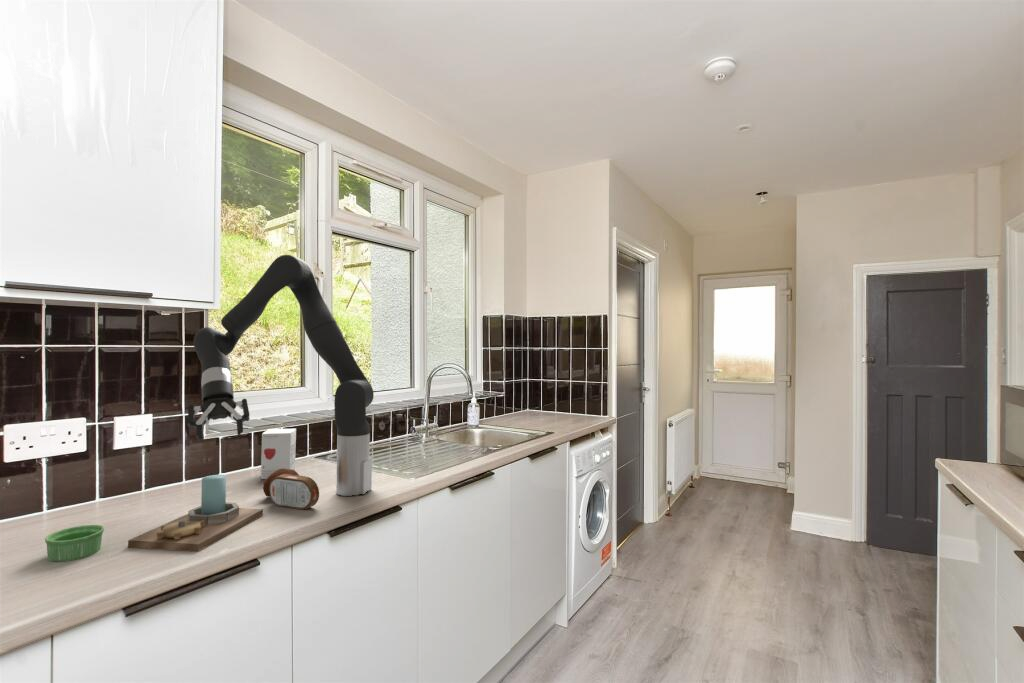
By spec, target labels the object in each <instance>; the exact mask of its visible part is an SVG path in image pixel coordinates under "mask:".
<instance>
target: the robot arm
mask: <svg viewBox="0 0 1024 683" xmlns="http://www.w3.org/2000/svg"><path fill="white" fill-rule="evenodd" d="M285 287H288V288H289V290H290V291H291V292H292V294H293V295H294V298H296V300H297V302H298V304H299V306H300V310H301V317H302V325H303V328H304V331H305V334H306V335H307V338H308V340H309V342H310V344H311V346H312V348H313V349H314V351H315V352H316V353H317V355H318V356H319V357H321V359H323V361H324V362H325V363H326V364H327V365H328V366H329V367H330V369H331V370H332V371H333V372H334V374H335V376H336V377H337V379H338V383H339V385H338V386H337V387H336V390H335V393H334V424H335V427H336V430H337V431H336V434H337V437H336V484H335V486H336V492H335V493H336V494H337V495H339V496H342V497H343V496H344V497H347V496H348V497H351V496H352V495H355V496H360V495H359V494H364V495H365V494H367V493H368V492H370V491H371V490H372V488H373V487H372V481H373V480H372V479H373V478H372V476H373V474H372V473H373V469H372V468H373V458H372V457H370V450H371V449H370V445H371V444H370V442H371V441H370V440H371V436H370V435H371V426H370V423H369V422H368V420H367V412H366V411H367V410H366V409H367V408H368V407H369V406H370V405H371V404H372V402H373V401H374V397H375V396H374V389H373V386H372V385H371V383H370V382H369V379H367V377H366V376H365V374H364V372H363V370H362V369H361V368H360V366H359V364H358V363H357V361H356V360H355V358H354V355H353V353H352V350H351V349H350V347H349V345H348V342H347V341H346V338H345V337H344V335H343V333H342V330H341V328H340V326H339V325H338V323H337V321H336V319H335V317H334V315H333V313H332V312H331V310H330V308H329V306H328V304H327V303H326V301H325V299H324V297H323V295H322V293H321V292H320V289H319V286H318V283H317V281H316V278H315V275H314V272H313V271H312V268H311V267H310V265H309V264H308V262H306V261H305V260H303V259H301V258H300V257H297V256H294V255H292V254H283V255H279V256H278V257H276V259H274V261H272V263H270V265H269V266H268V268H267V269H266V270H265V272H264V273H263V275H261V277H260V278H259V279H258V281H256V283H255V285H253V287H252V288H251V289H250V291H249V292H248V293H247V294H246V295H245V296H244V297H242V299H241V300H240V301H239V302H238V303H236V304H235V305H234V306H233V307H232V308H231V309H230V310H228V312H227V313H226V314H225V315H224V316H223V317H221V319H220V324H221V326H222V327H223V328H224V329H225V330H226V332H225V333H223V332H221V331H219V330H217V329H215V328H213V327H209V326H207V327H203V328H200V329H199V330H197V331H196V333H195V335H194V337H193V348H194V349H195V352H196V355H197V358H198V360H199V362H200V364H201V383H200V384H201V401H202V402H201V405H198V406H197V405H196V406H195V405H194V404H190V405H188V407H187V408H188V409H187V410H188V412H187V425H188V428H189V429H196V439H197V440H200V442H201V441H202V442H203V441H204V429H203V428H204V426H205V425H206V424H208V423H209V422H210V421H211V420H213V421H216V420H219V419H227V418H229V419H230V420H232V421H234V422H236V430H237V431H236V432H237V436H241V434H243V433H244V424H243V423H244V422H248V421H250V411H249V406H248V400H247V398H242V399H241V400H240V401H238V400H237V401H236V400H235V397H234V383H233V377H232V374H231V373H232V372H231V362H230V360H229V358H228V356H229V355H230V354H231V353H232V352H233V351H234V349H235V347H236V346H237V344H238V342H239V341H240V339H241V337H243V335H244V333H245V332H246V330H248V329H249V328H250V327H251V326H252V325H254V324H255V323H256V322H257V320H258V319H259V318H261V316H262V314H263V313H264V311H265V309H266V307H267V305H268V304H269V302H270V301H271V299H272V298H273V297H274V296H276V294H277V293H279V292H280V291H281V290H283V289H285ZM236 407H238V408H239V409H240V410H242V413H243V414H240V413H238V411H237V410H236ZM200 411H201V413H202V414H201V415H200V417H199V418H198V419H197V420H196V421H195V416H197V414H198V413H199V412H200ZM370 489H371V490H370ZM367 491H368V492H367ZM366 492H367V493H366Z"/></svg>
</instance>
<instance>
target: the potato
mask: <svg viewBox="0 0 1024 683" xmlns="http://www.w3.org/2000/svg"><path fill="white" fill-rule="evenodd" d="M281 474H292V475H299V473H298V472H297V471H296V469H295V470H291V469H285V468H284V469H278V470H277V471H275V472H274V473H272V474H271V475H270V476H269V477H268V478H267V479H265V480H264V482H263V486H262V491H263V493H264V495H265V496H266V497H268V498H270V494H269V484H270V482H271V481H272V479H274V478H275V477H277V476H280V475H281ZM299 476H300V475H299Z"/></svg>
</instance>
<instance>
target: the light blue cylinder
mask: <svg viewBox="0 0 1024 683" xmlns="http://www.w3.org/2000/svg"><path fill="white" fill-rule="evenodd" d="M200 498H201V499H200V500H201V502H200V504H201V505H200V506H201V515H212V514H217V513H223V512H225V507H226V500H227V475H225V474H213V475H211V474H210V475H207V476H204V477H202V478H201V497H200Z"/></svg>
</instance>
